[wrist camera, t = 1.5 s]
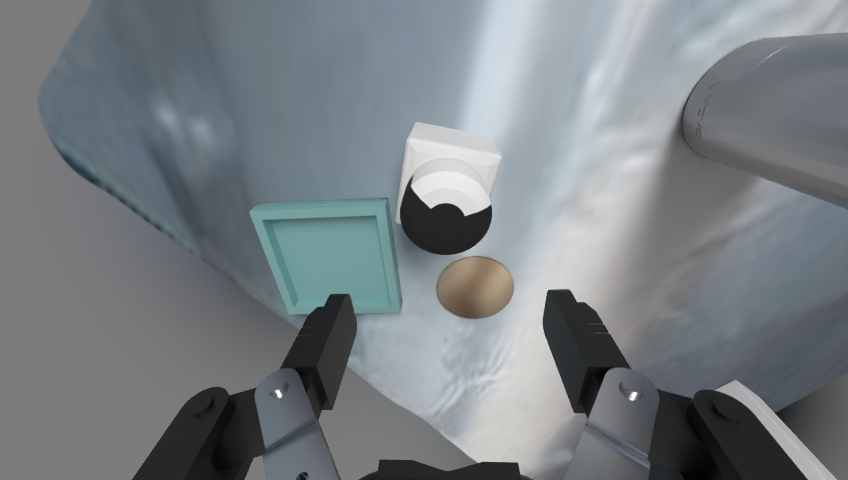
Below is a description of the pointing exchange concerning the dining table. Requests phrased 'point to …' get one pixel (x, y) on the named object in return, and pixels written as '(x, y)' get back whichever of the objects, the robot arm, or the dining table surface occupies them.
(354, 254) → the tray
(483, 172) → the medicine bottle
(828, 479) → the milk
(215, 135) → the dining table surface
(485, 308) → the cork coaster
